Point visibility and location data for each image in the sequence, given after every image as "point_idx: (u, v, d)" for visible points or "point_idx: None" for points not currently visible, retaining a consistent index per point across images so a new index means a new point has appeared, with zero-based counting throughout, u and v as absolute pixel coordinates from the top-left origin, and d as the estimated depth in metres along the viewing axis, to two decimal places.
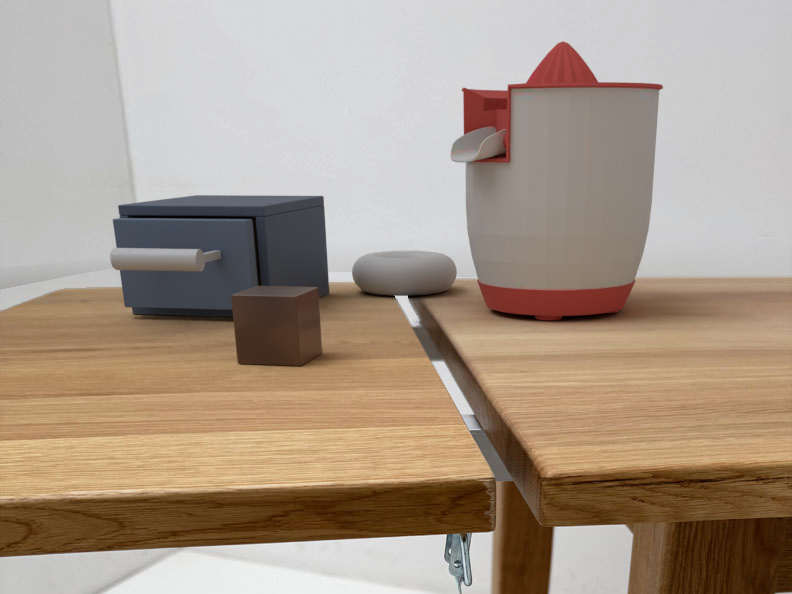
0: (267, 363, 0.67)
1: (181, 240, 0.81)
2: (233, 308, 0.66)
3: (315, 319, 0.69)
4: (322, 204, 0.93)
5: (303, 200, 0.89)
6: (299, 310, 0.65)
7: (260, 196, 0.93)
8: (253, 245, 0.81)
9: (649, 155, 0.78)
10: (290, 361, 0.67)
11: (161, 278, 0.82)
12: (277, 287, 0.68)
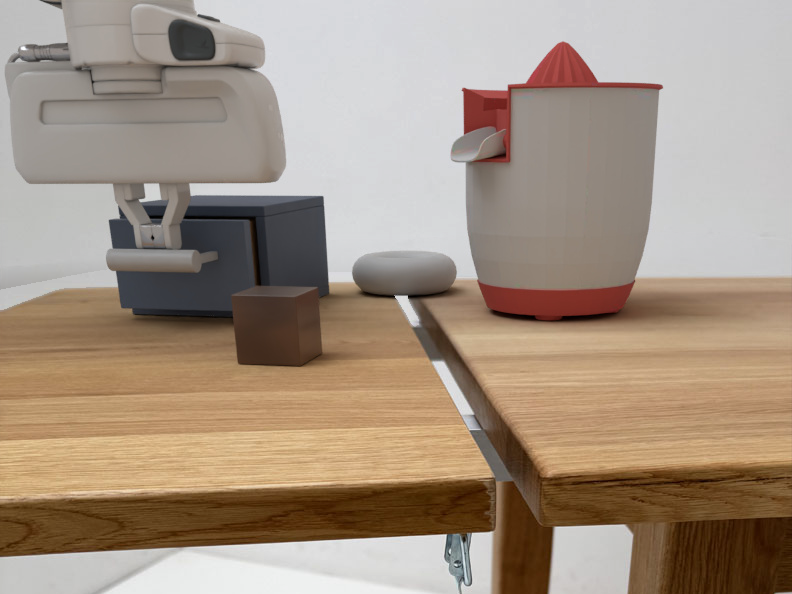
0: (267, 363, 0.67)
1: None
2: (233, 308, 0.66)
3: (315, 319, 0.69)
4: (322, 204, 0.93)
5: (303, 200, 0.89)
6: (299, 310, 0.65)
7: (260, 196, 0.93)
8: (250, 246, 0.80)
9: (649, 155, 0.78)
10: (290, 361, 0.67)
11: (157, 279, 0.82)
12: (277, 287, 0.68)
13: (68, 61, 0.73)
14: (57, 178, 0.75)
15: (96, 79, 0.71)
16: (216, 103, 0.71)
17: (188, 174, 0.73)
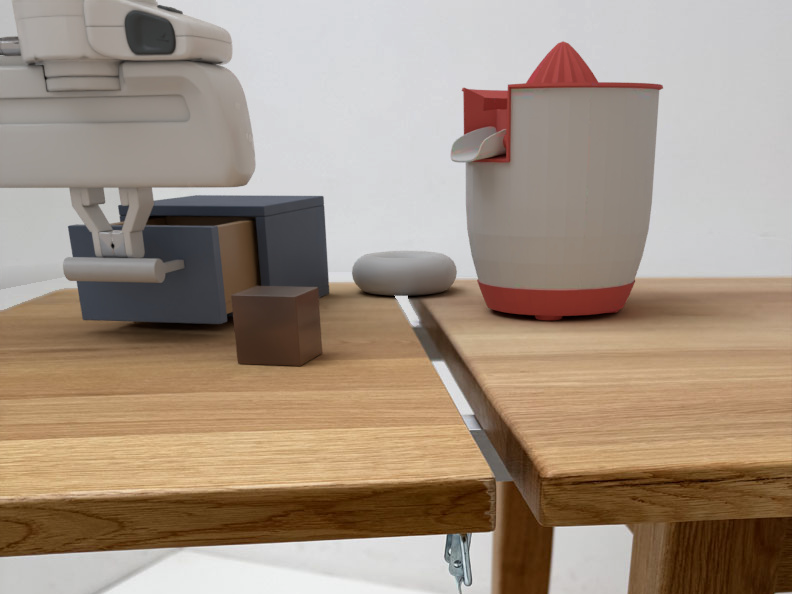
0: (267, 363, 0.67)
1: None
2: (233, 308, 0.66)
3: (315, 319, 0.69)
4: (322, 204, 0.93)
5: (303, 200, 0.89)
6: (299, 310, 0.65)
7: (260, 196, 0.93)
8: (219, 254, 0.75)
9: (649, 155, 0.78)
10: (290, 361, 0.67)
11: (121, 289, 0.77)
12: (277, 287, 0.68)
13: (20, 56, 0.67)
14: (10, 182, 0.70)
15: (49, 75, 0.65)
16: (178, 101, 0.65)
17: (149, 177, 0.68)
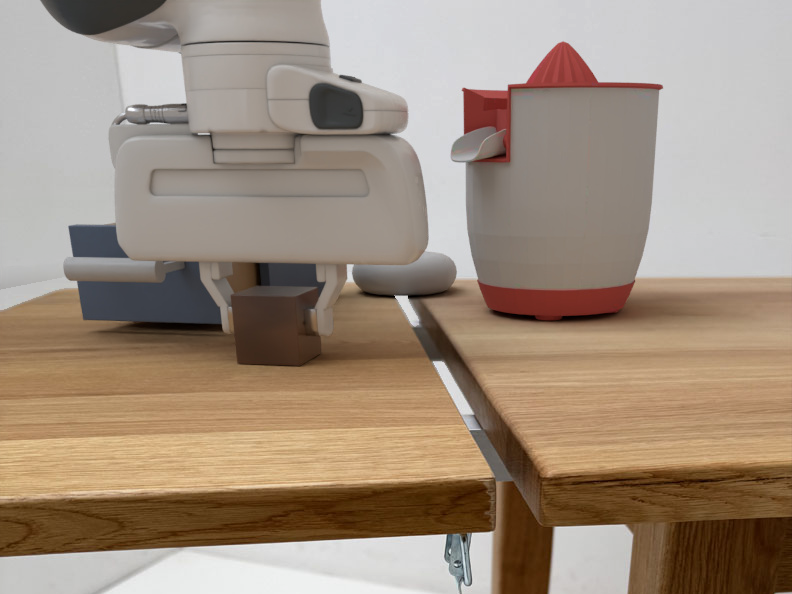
0: (267, 363, 0.67)
1: None
2: (232, 308, 0.66)
3: None
4: None
5: None
6: (298, 310, 0.65)
7: None
8: None
9: (649, 155, 0.78)
10: (290, 361, 0.67)
11: (121, 289, 0.77)
12: (276, 287, 0.68)
13: (183, 124, 0.64)
14: (167, 255, 0.66)
15: (219, 147, 0.62)
16: (356, 176, 0.62)
17: (320, 254, 0.64)
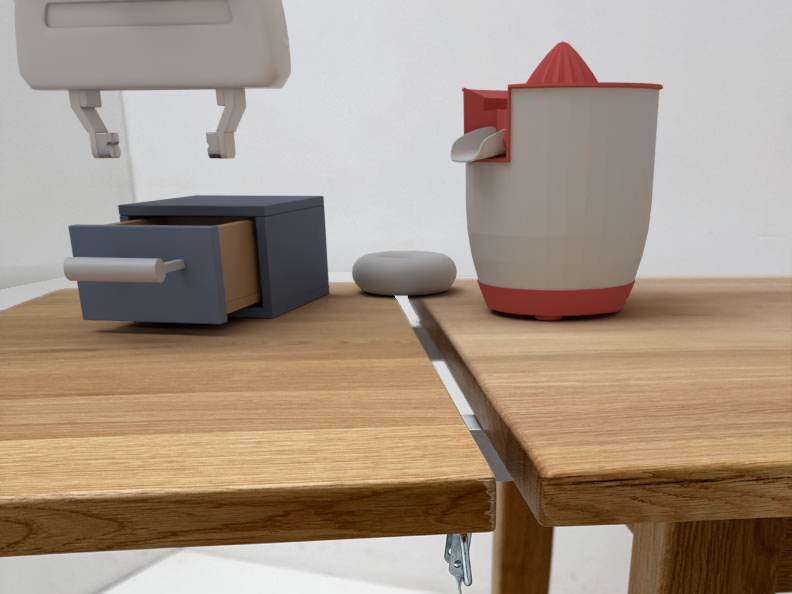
0: None
1: (142, 249, 0.75)
2: None
3: None
4: (322, 204, 0.93)
5: (303, 200, 0.89)
6: None
7: (260, 196, 0.93)
8: (219, 254, 0.75)
9: (649, 155, 0.78)
10: None
11: (121, 289, 0.77)
12: None
13: None
14: (62, 83, 0.75)
15: None
16: (221, 4, 0.71)
17: (193, 78, 0.73)
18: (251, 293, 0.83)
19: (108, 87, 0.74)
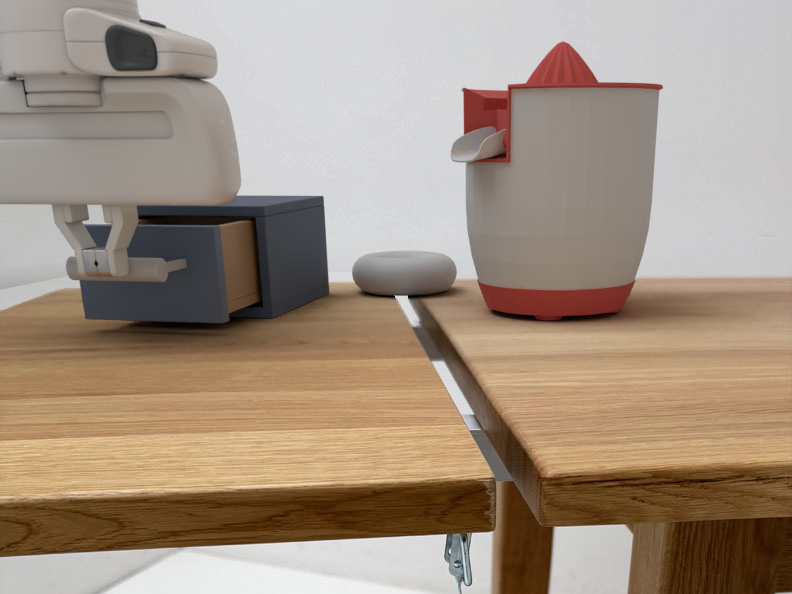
0: None
1: (144, 248, 0.75)
2: None
3: None
4: (322, 204, 0.93)
5: (303, 200, 0.89)
6: None
7: (260, 196, 0.93)
8: (221, 253, 0.75)
9: (649, 155, 0.78)
10: None
11: (123, 288, 0.77)
12: None
13: (0, 70, 0.66)
14: None
15: (29, 90, 0.64)
16: (161, 118, 0.64)
17: (132, 195, 0.66)
18: (253, 292, 0.83)
19: (41, 203, 0.68)
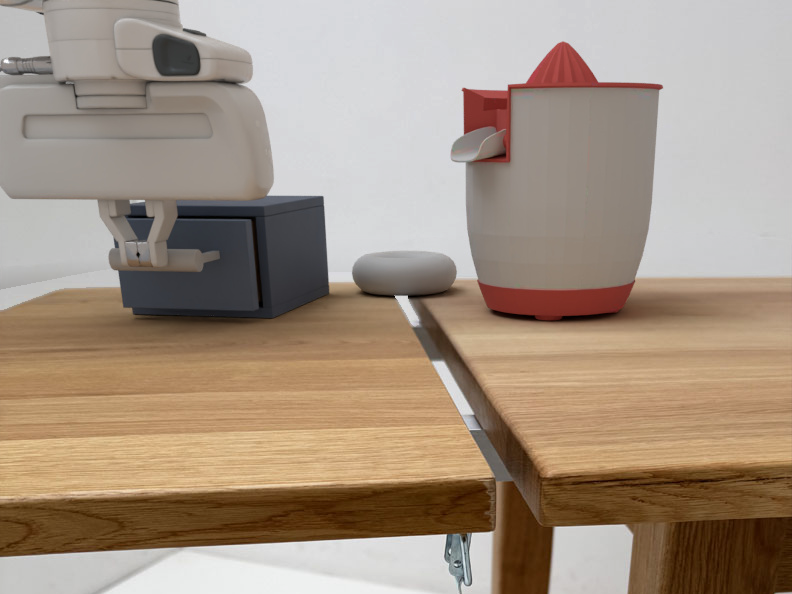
0: None
1: (180, 241, 0.80)
2: None
3: None
4: (322, 204, 0.93)
5: (303, 200, 0.89)
6: None
7: None
8: (252, 245, 0.80)
9: (649, 155, 0.78)
10: None
11: (159, 278, 0.82)
12: None
13: (51, 75, 0.71)
14: (41, 193, 0.73)
15: (79, 94, 0.69)
16: (201, 119, 0.69)
17: (173, 191, 0.71)
18: None
19: (87, 198, 0.73)
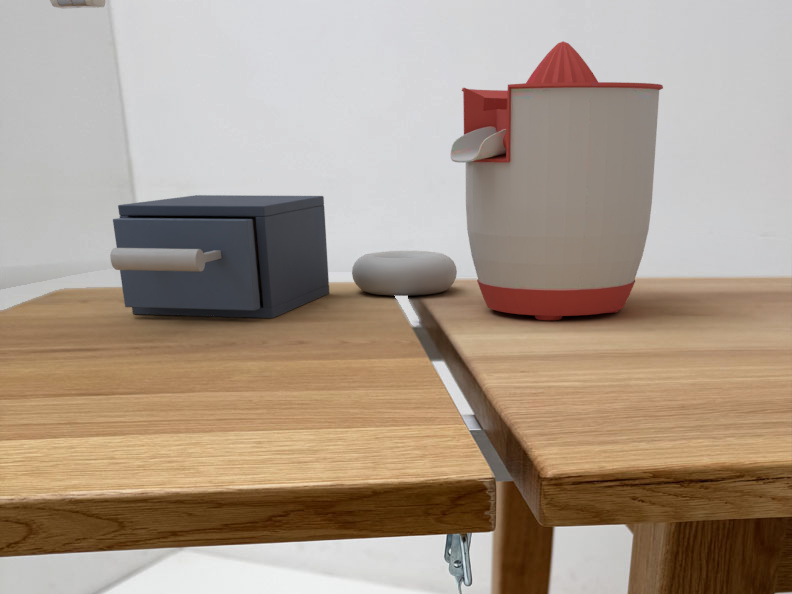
0: None
1: (181, 240, 0.81)
2: None
3: None
4: (322, 204, 0.93)
5: (303, 200, 0.89)
6: None
7: (260, 196, 0.93)
8: (253, 245, 0.81)
9: (649, 155, 0.78)
10: None
11: (161, 278, 0.82)
12: None
13: None
14: None
15: None
16: None
17: None
18: None
19: None
